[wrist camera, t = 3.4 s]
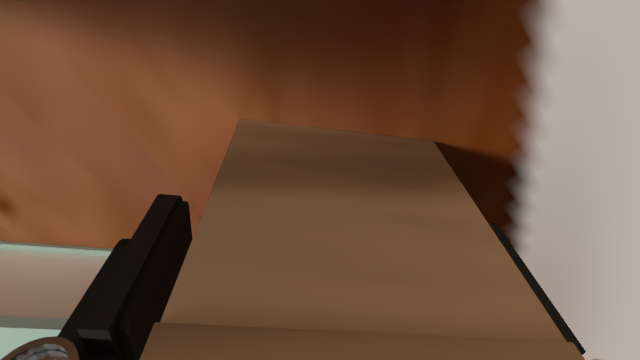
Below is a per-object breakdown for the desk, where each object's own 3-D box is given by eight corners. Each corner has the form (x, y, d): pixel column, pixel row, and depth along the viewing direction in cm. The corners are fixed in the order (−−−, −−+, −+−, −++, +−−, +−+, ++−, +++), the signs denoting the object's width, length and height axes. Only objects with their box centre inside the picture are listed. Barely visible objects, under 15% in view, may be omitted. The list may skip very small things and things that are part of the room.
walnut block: (238, 116, 10) (139, 360, 4) (435, 139, 10) (596, 376, 5) (237, 257, 13) (183, 499, 7) (385, 268, 14) (443, 497, 8)
